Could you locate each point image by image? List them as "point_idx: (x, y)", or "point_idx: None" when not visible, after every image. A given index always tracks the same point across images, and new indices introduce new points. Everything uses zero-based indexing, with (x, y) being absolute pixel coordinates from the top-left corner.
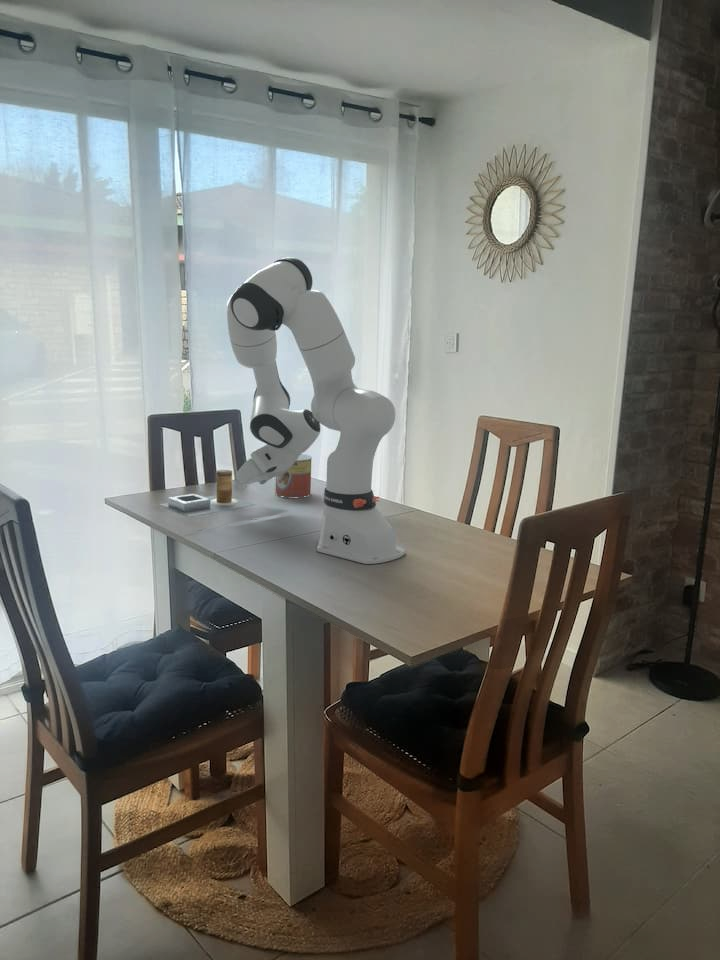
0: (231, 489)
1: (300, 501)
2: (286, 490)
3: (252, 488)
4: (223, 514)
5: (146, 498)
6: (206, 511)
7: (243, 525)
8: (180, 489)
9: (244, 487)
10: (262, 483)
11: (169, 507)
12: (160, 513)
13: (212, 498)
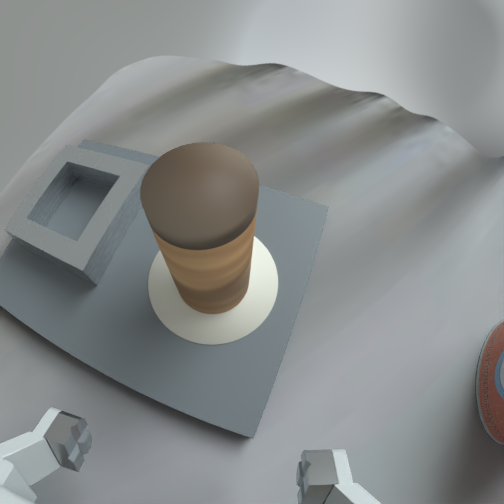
0: (219, 290)
1: (463, 482)
2: (497, 402)
3: (477, 226)
4: None
5: (175, 80)
6: (43, 306)
7: None
8: (309, 86)
9: (57, 463)
10: (299, 484)
11: None
12: None
13: None
